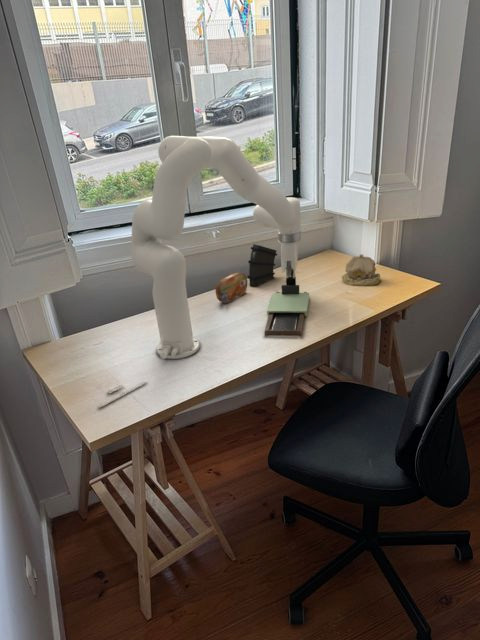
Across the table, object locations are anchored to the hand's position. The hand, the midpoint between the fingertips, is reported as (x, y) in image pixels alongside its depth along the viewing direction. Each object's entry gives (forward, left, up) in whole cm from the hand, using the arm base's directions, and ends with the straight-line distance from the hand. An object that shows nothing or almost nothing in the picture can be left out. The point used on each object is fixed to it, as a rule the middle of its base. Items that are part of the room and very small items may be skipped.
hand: (291, 288), depth 174 cm
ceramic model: (+18, -24, -4) cm, 31 cm away
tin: (+1, +22, -4) cm, 22 cm away
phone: (-21, 0, -4) cm, 21 cm away
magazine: (+18, +13, -4) cm, 22 cm away
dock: (-14, 0, -4) cm, 15 cm away
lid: (-9, 0, -3) cm, 10 cm away
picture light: (-61, +40, -4) cm, 73 cm away
